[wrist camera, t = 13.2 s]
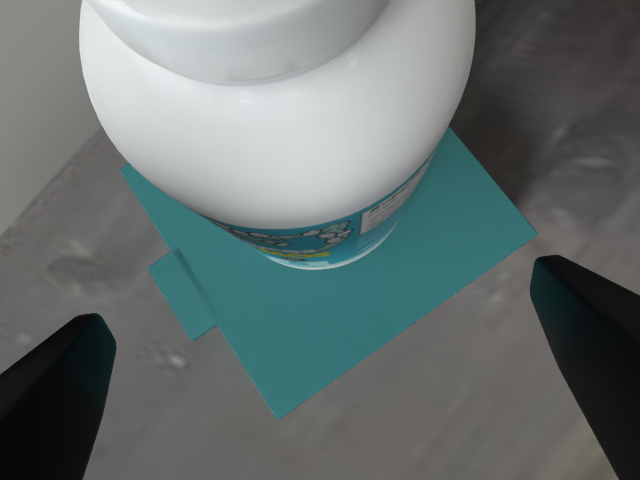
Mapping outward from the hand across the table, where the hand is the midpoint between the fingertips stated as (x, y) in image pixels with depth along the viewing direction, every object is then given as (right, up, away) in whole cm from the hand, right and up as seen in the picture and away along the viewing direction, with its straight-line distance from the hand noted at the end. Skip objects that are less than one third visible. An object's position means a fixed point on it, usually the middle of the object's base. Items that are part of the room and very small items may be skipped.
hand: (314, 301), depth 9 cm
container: (0, +2, +13) cm, 13 cm away
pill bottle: (0, +4, +9) cm, 10 cm away
